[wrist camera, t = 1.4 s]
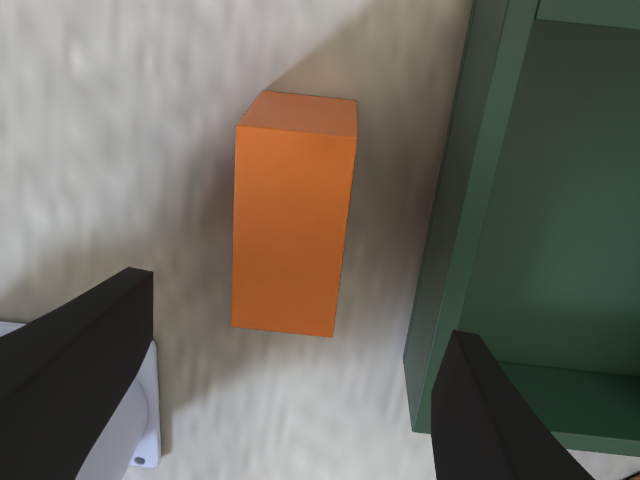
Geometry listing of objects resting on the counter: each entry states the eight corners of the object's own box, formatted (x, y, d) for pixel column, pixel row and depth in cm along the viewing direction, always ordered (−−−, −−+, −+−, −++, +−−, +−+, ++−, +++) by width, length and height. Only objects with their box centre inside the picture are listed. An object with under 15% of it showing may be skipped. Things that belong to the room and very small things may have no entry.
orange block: (254, 258, 23) (230, 327, 19) (261, 90, 20) (235, 124, 16) (336, 267, 23) (332, 338, 19) (357, 100, 20) (357, 137, 16)
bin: (402, 358, 25) (411, 432, 21) (477, -20, 18) (512, -17, 14) (658, 386, 25) (716, 466, 21) (830, 16, 18) (965, 30, 14)
